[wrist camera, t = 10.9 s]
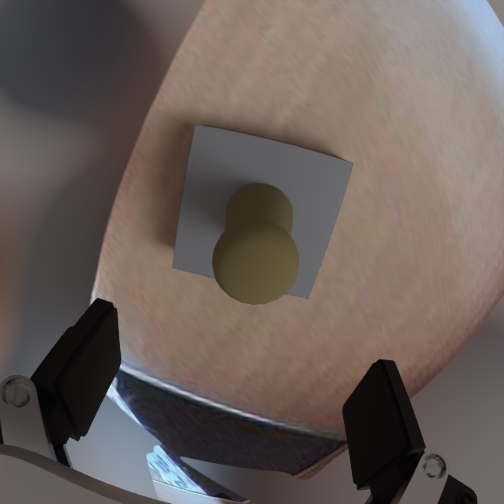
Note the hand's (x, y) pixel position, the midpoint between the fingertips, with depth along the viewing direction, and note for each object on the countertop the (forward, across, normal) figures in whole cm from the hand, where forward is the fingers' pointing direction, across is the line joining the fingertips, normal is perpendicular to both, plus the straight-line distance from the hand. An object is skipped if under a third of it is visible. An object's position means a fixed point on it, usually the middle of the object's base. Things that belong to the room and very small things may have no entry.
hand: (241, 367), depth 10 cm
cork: (+18, 0, 0) cm, 18 cm away
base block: (+22, 0, +1) cm, 22 cm away
